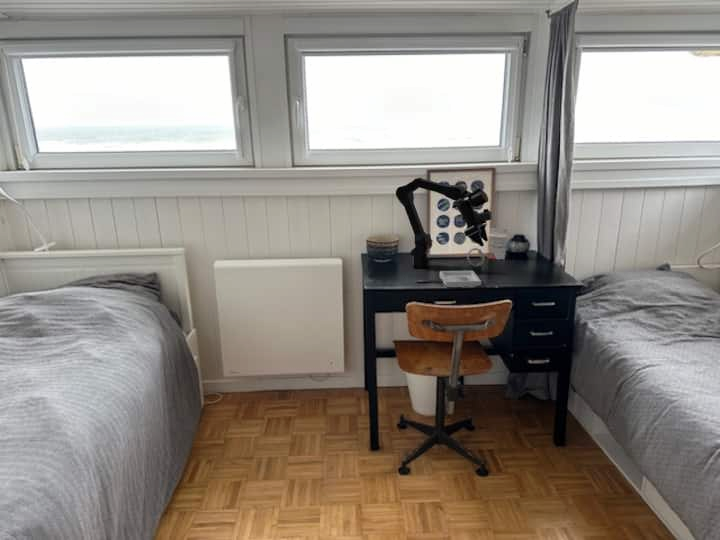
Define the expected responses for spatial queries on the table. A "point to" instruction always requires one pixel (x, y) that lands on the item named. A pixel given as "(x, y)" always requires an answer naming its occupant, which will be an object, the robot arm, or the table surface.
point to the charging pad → (457, 278)
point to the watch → (476, 267)
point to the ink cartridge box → (497, 243)
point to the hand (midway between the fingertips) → (485, 243)
